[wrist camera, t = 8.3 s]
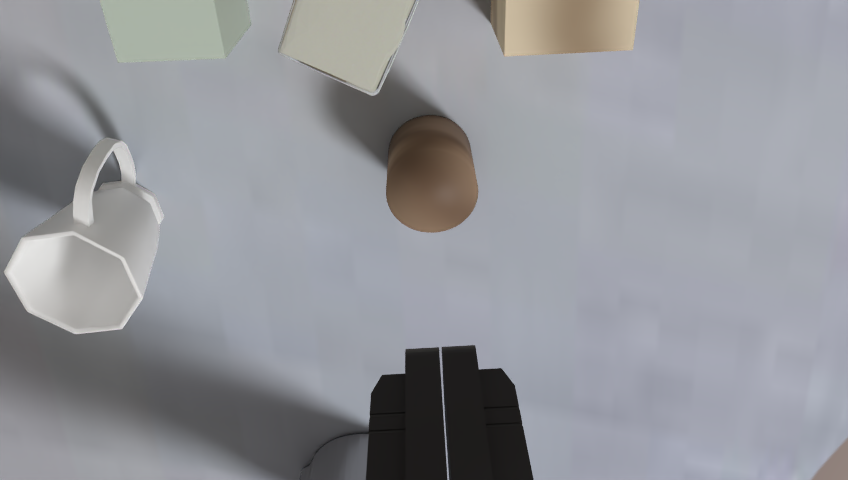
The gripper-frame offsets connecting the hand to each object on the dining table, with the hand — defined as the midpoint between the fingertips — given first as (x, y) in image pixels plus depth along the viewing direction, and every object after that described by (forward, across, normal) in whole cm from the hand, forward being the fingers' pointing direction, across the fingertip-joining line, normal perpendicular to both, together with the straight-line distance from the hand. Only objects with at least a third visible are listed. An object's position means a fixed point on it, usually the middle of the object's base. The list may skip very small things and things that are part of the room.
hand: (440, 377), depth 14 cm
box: (+26, +2, -5) cm, 27 cm away
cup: (+26, +18, +8) cm, 33 cm away
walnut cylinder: (+26, 0, +6) cm, 27 cm away
